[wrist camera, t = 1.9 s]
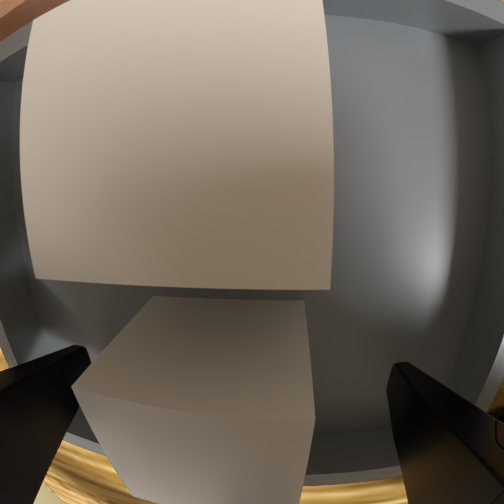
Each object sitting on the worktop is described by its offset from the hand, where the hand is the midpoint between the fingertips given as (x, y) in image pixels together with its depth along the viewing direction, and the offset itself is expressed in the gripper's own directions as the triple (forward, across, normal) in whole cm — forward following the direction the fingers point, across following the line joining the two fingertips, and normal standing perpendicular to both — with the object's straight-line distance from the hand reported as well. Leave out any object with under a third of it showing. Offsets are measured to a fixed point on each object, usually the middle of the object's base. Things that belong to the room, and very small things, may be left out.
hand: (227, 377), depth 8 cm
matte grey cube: (+1, 0, 0) cm, 1 cm away
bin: (+1, 0, -3) cm, 3 cm away
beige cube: (+1, 0, -6) cm, 6 cm away
